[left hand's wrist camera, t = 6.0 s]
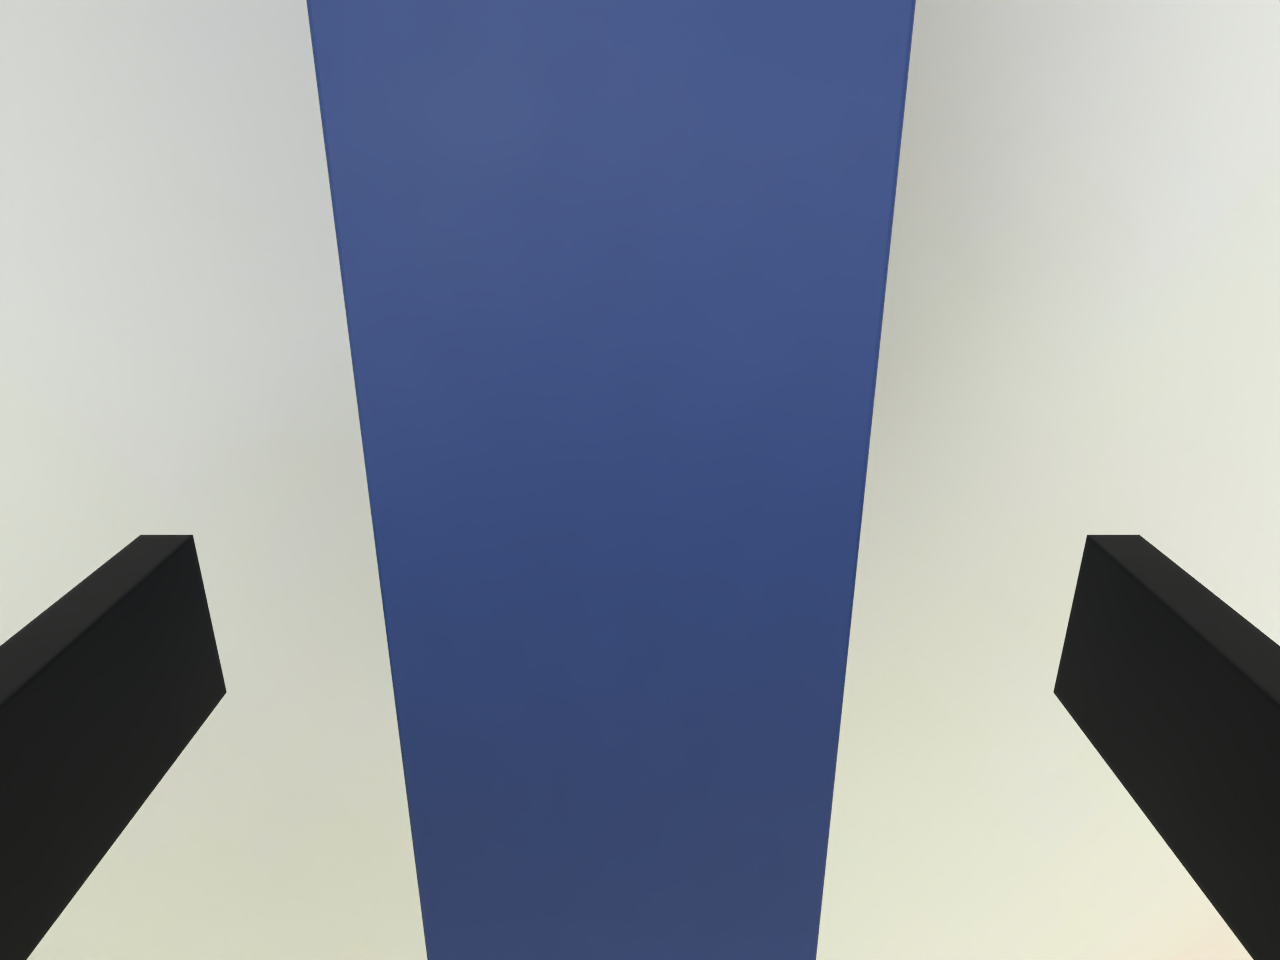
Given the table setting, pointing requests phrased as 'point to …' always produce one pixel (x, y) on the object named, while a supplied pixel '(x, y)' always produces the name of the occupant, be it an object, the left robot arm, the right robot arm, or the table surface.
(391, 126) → the bar
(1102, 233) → the table surface
